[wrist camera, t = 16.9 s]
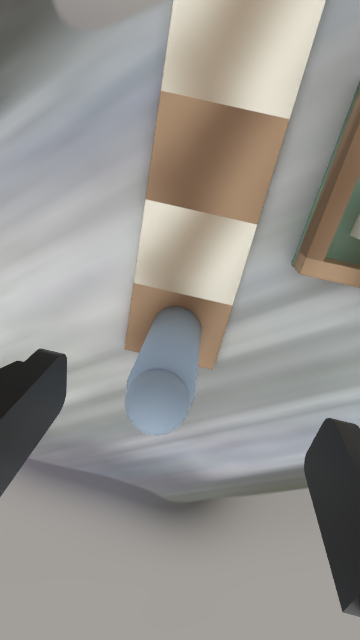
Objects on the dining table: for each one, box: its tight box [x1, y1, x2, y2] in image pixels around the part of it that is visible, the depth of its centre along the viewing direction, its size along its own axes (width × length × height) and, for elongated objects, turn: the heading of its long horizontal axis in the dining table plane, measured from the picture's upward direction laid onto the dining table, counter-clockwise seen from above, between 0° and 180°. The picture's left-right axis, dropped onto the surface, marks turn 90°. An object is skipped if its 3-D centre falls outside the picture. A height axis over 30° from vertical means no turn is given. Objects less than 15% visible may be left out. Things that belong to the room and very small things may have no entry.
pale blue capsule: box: [125, 306, 202, 435], centre depth 18 cm, size 4×4×9 cm
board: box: [125, 0, 326, 370], centre depth 19 cm, size 7×22×1 cm, turn 168°
